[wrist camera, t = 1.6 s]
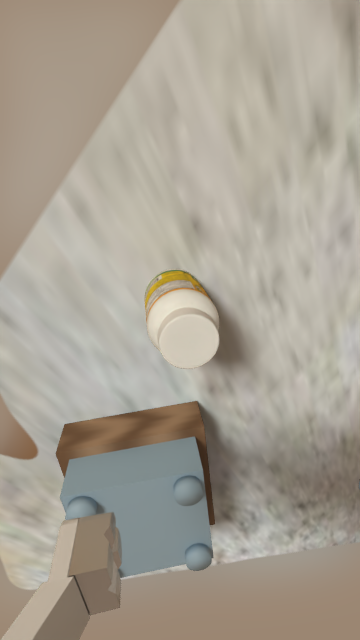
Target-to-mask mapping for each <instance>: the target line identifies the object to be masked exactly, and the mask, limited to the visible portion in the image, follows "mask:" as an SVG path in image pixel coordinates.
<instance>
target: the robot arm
mask: <svg viewBox="0 0 360 640" xmlns="http://www.w3.org/2000/svg"><path fill="white" fill-rule="evenodd" d="M359 489H360V481H359ZM115 526H116V518H115V515H114V512H109V513H104V514H98V515H92V516H86V517H80V518H75V519H70V520H65V521H63V522H62V524H61V526H60V529H59V534H58V538H57V543H56V547H55V552H54V556H53V560H52V565H51V569H50V574H49V578H48V582H44V583H42V584H41V585H40V587H39V588H38V590H37V591H36V593H35V594H34V595H33V596H32V598H31V599H30V601H29V602H28V603H27V605H26V606H25V608H24V609H23V610H22V611H21V613H20V614H19V616H18V617H17V618H16V620H15V621H14V623H13V624H12V625H11V627H10V628H9V629H8V631H7V632H6V633H5V635H4V636H3V637H2V639H1V640H79V639H80V637H81V635H82V633H83V631H84V629H85V627H86V625H87V622H88V621H89V619H90V616H89V615H93V614H97V613H101V612H105V611H109V610H113V609H116V608H120V594H121V593H120V592H121V579H120V576H119V572H118V569H119V567H120V566H121V564H122V546H121V537H120V532H119V529H118V528H117V527H115Z"/></svg>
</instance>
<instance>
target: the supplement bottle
mask: <svg viewBox="0 0 360 640" xmlns="http://www.w3.org/2000/svg"><path fill="white" fill-rule="evenodd" d="M145 308H146V322H147V331H148V335H149V337H150V340H151V341H152V343H153V344H154V346H155V347H156V348H157V349H158V350H159V351H160V352H161V354H162V356H163V357H164V359H165V360H166V361H167V362H168V363H170V364H171V365H173V366H175V367H178V368H183V369H192V368H196V367H200V366H202V365H204V364H205V363H207V362H208V361H210V360H211V359H212V357H213V356H214V355H215V353H216V352H217V349H218V346H219V333H218V330H219V315H218V312H217V309H216V307H215V305H214V304H213V302H212V301H211V299H210V298H209V296H208V295H207V293H206V292H205V290H204V289H203V287H202V286H201V284H200V283H199V282H198V280H197V279H196V278H195V277H194V276H193V275H191V274H190V273H189V272H187V271H184V270H181V269H169V270H165V271H162V272H160V273H159V274H157V275H156V276H155V277H154V278H153V279H152V280H151V281H150V282H149V284H148V286H147V288H146V292H145Z"/></svg>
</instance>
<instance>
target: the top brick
mask: <svg viewBox="0 0 360 640" xmlns="http://www.w3.org/2000/svg"><path fill="white" fill-rule="evenodd" d="M60 499H61V501H62V504H63V507H64V509H65V512H66V516H65V519H66V520H70V519H75V518H80V517H86V516H92V515H98V514H104V513H109V512H114V515H115V518H116V526H115V527H117V528H118V529H119V532H120V537H121V546H122V564H121V566H120V567H119V569H118V572H119V576H120V578H122V577H126V576H131V575H136V574H141V573H145V572H150V571H155V570H159V569H164V568H169V567H174V566H178V565H183V564H187V567H188V568H189V569H190V570H193V571H199V570H203V569H205V568H207V567H208V566H209V565H210V564H211V561H212V560H211V558H213V550H212V541H211V533H210V525H209V517H208V508H207V500H206V492H205V484H204V475H203V468H202V464H201V460H200V456H199V451H198V447H197V443H196V439H195V437H189V438H184V439H178V440H173V441H167V442H162V443H157V444H151V445H146V446H140V447H135V448H129V449H124V450H119V451H113V452H108V453H102V454H97V455H91V456H86V457H81V458H75V459H70V460H69V463H68V467H67V471H66V475H65V479H64V483H63V487H62V491H61V495H60Z"/></svg>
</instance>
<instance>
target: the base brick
mask: <svg viewBox="0 0 360 640" xmlns="http://www.w3.org/2000/svg"><path fill="white" fill-rule="evenodd" d="M189 437H195V439H196V443H197V447H198V451H199V456H200V460H201V464H202V468H203V475H204V484H205V492H206V500H207V508H208V517H209V525H213V524H215V519H214V510H213V501H212V492H211V483H210V474H209V465H208V456H207V447H206V438H205V429H204V424H203V420H202V417H201V413H200V410H199V406H198V403H197V401H194V402H188V403H183V404H177V405H171V406H166V407H160V408H154V409H149V410H143V411H137V412H132V413H126V414H120V415H115V416H109V417H103V418H98V419H92V420H86V421H81V422H75V423H69V424H65V425H64V428H63V431H62V435H61V438H60V441H59V444H58V448H57V451H56V456H57V459H58V461H59V464H60V467H61V470H62V473H63V476H64V478H65V475H66V471H67V467H68V463H69V460H70V459H75V458H81V457H86V456H91V455H97V454H102V453H108V452H113V451H119V450H124V449H129V448H135V447H140V446H146V445H151V444H157V443H162V442H167V441H173V440H178V439H184V438H189Z"/></svg>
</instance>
